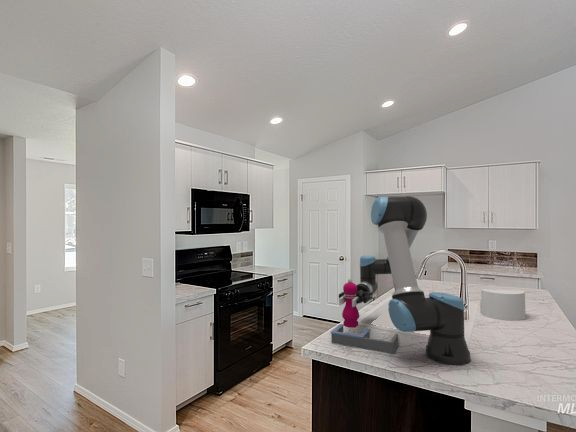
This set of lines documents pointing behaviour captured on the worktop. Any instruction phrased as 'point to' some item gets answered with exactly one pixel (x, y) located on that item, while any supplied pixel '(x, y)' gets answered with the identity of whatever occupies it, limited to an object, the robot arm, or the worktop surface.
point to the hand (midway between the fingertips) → (346, 302)
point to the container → (503, 304)
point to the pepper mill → (350, 305)
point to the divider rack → (363, 340)
